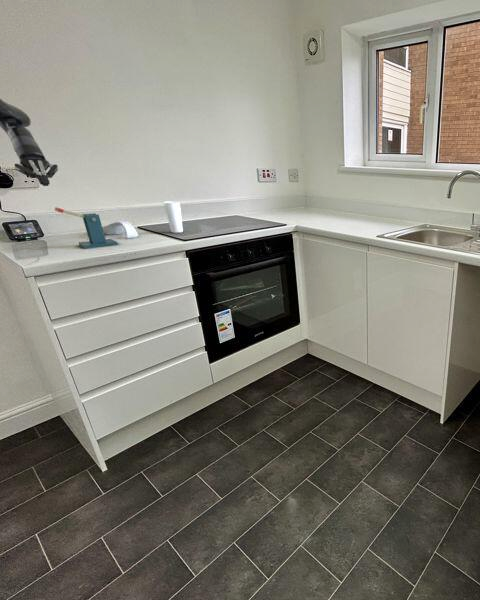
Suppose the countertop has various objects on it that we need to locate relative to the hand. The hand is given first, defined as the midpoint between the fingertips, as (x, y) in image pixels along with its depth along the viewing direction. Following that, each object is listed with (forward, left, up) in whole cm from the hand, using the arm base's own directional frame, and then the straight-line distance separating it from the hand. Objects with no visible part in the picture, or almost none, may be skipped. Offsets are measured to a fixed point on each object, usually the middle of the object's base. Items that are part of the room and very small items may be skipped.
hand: (45, 184), depth 138 cm
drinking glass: (+37, +24, -24) cm, 50 cm away
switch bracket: (+13, -2, -24) cm, 27 cm away
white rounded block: (+14, +20, -24) cm, 34 cm away
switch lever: (+9, -5, -12) cm, 16 cm away
